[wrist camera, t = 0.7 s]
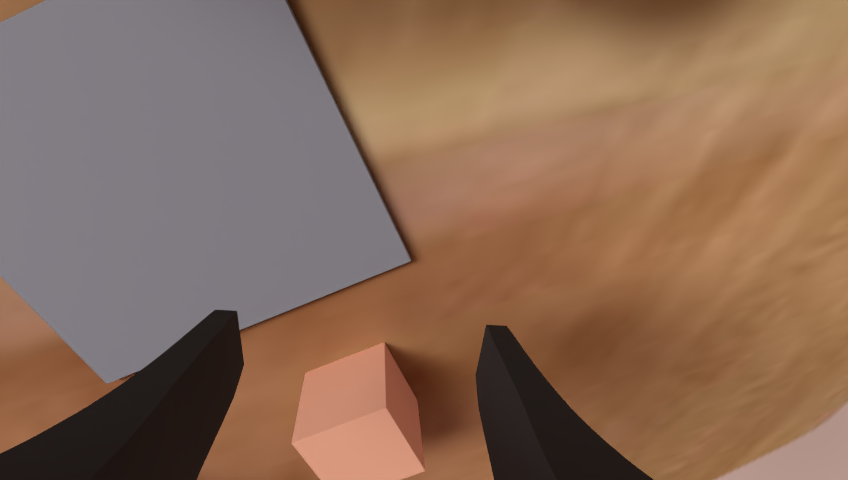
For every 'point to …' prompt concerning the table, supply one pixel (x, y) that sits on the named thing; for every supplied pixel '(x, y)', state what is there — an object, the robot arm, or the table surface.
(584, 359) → the table surface
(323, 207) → the gray placemat
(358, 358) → the terracotta cube
